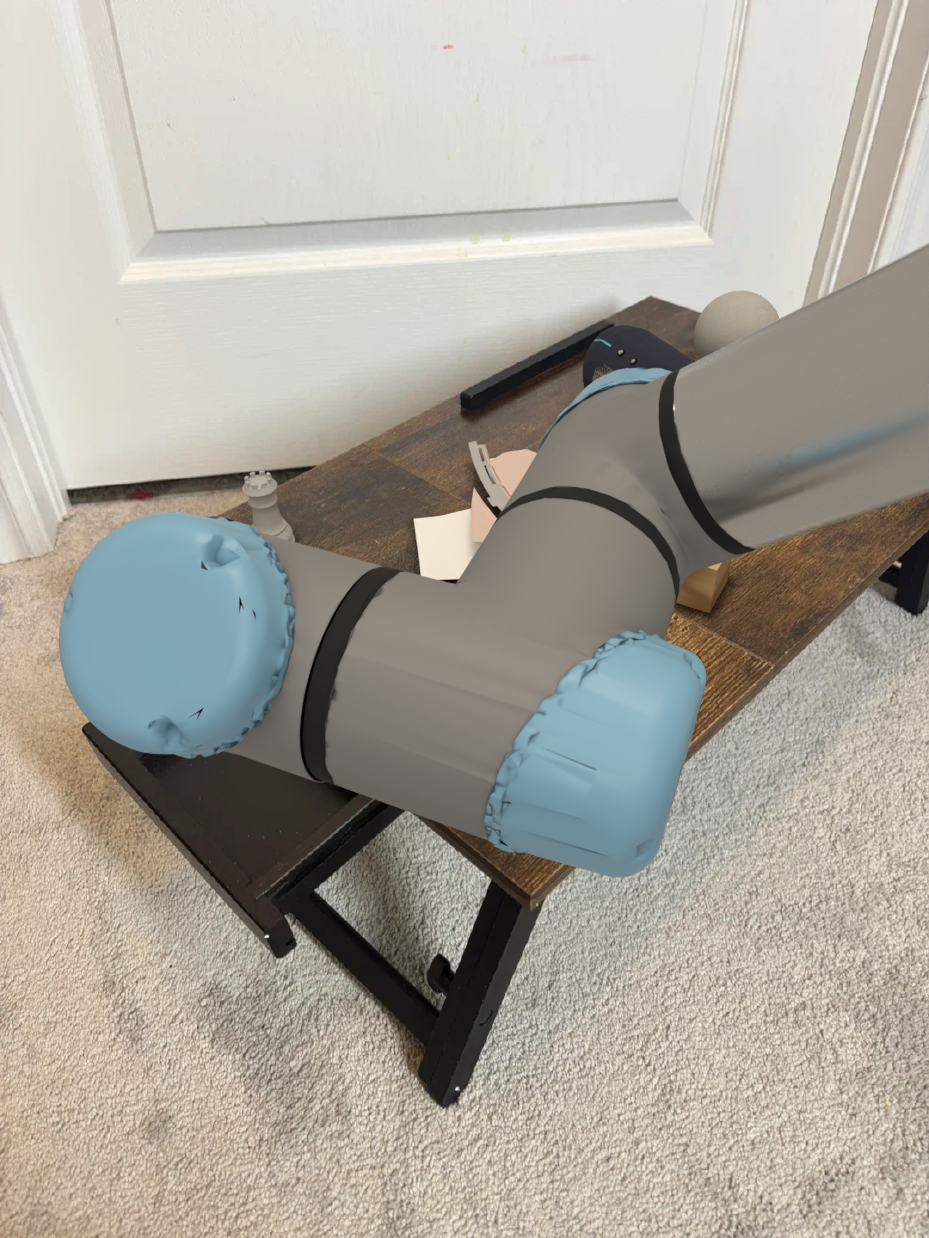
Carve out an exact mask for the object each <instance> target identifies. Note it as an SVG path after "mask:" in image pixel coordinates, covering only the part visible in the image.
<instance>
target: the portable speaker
mask: <svg viewBox="0 0 929 1238" xmlns="http://www.w3.org/2000/svg"><path fill="white" fill-rule="evenodd" d="M695 361H696V360H694V359H692V358H691V357H690V356H688V355H687V354H684V353H683V352H682V351H680V350H679V349H677V348H675V347H674V346H672V345H670V343H668V342H667V341H665V340H664V339H662V338H660V337H659V336H657V335H655V334H654V333H653V332H651V331H649V330H648V329H644V328H642V327H638V326H633V325H630V324H619V325H613V326H611V327H608V328H606V329H604V330H602V331H601V332H600V333H599V334H597V336H596V337H595V338H594V340H593V341H592V342H591V343H590V345H589V347H588V348H587V351H586V353H585V355H584V359H583V363H582V382H583V383H582V384H583V390H584V389H585V388H586V387H587V386H588V385H589V384H591V383H592V382H593V381H595V380H596V379H598V378H600V377H602V376H604V375H606V374H608V373H611V372H613V371H616V370H620V369H625V368H629V369H630V368H661V369H664V370H668V371H671V372H673V371H675V370H677V369H679V368H681V367H683V366H685V365H688V364H691V363H693V362H695Z"/></svg>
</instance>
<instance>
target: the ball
mask: <svg viewBox="0 0 929 1238" xmlns="http://www.w3.org/2000/svg"><path fill="white" fill-rule="evenodd" d="M777 311H778V310H776V308H775V307H774V305H773V304H772V303H771V302H770V301H769V300H768V299H767V298H766V297H764V296H762V295H760V294H758V293H755V292H753V291H749V290H734V291H730V292H726V293H723V294H721V295H719V296H717V297H715V298H714V299H713V300H711V301H710V302H709V303H708V304H707V305H706V306H705V307H704V308H703V310H702V311H701V312H700V314H699V316H698V318H697V321H696V322H695V326H694V331H693V343H694V345H693V346H694V350H695V353H696V356H697V358H698V360H699V359H701V358H703V357H705V356H707V355H709V354H711V353H713V352H715V351H717V350H719V349H721V348H723V347H725V346H727V345H729V344H731V343H733V342H735V341H737V340H739V339H741V338H743V337H744V336H746V335H748V334H750V333H752V332H754V331H756V330H758V329H760V328H762V327H764V326H766V325H768V324H770V323H772V322H774V321H776V320H778V319H780V317H779V314H778V312H777Z"/></svg>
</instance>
